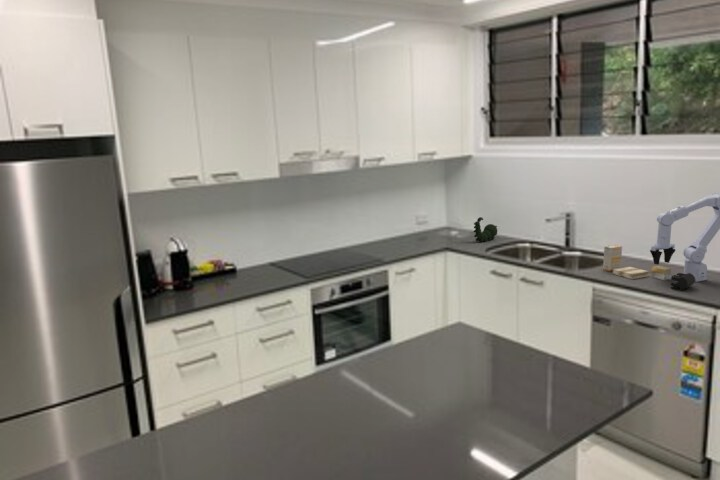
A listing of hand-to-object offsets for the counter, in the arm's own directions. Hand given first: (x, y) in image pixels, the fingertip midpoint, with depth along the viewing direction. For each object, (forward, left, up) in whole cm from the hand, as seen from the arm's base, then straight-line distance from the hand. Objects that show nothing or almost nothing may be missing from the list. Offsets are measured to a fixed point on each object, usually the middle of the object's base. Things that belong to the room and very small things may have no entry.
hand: (661, 263), depth 270 cm
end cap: (-17, +7, -8) cm, 20 cm away
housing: (0, 0, -8) cm, 8 cm away
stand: (+11, +8, -8) cm, 16 cm away
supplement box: (+24, +7, -8) cm, 26 cm away
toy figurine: (+123, +17, -8) cm, 124 cm away
